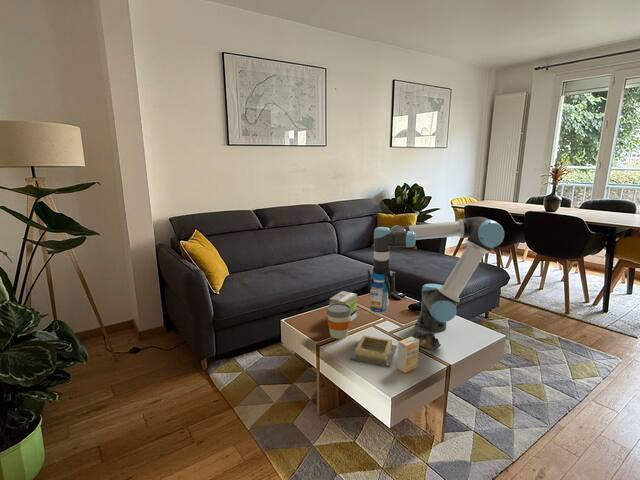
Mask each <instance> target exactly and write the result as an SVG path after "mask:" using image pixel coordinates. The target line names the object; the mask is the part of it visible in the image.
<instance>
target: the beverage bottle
mask: <svg viewBox="0 0 640 480" xmlns="http://www.w3.org/2000/svg"><path fill="white" fill-rule="evenodd" d="M387 276H388V275H387ZM387 276H386V277H387ZM369 291H370V305H369V306H370V307H369V311H370V312H372V313H373V314H374V313H375V314H385V313H386V312H387V306H386V297H387V292H388V290H387V287H386V283H385V275H384V274H375V273H374V272H373V273H372V280H371V290H369Z"/></svg>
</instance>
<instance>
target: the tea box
mask: <svg viewBox="0 0 640 480" xmlns="http://www.w3.org/2000/svg"><path fill="white" fill-rule="evenodd" d="M334 303H344V304H347V305H349V306H350V307H351V315H350V317H351V321H350V323H351V322H353V321H354V320H355V319H356V318H357V313H358V312H357V311H358V309H357V306H358V305H357V304H358V294H357V293H353V292H350V291H344V290H342V291H340V292H339V293H337V294H335V295H333V296H332V297H330V298H329V305H330V304H334Z"/></svg>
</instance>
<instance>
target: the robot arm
mask: <svg viewBox="0 0 640 480" xmlns="http://www.w3.org/2000/svg"><path fill="white" fill-rule="evenodd" d="M373 231H374V232H373V268H372V269H370V268H369V269H368V270H367V275H368V276H367V277H368V278H367V290H368V291H370V290H371V283H372V281H373V272H374V273H375V274H384V275H385V283H386V287H387V290H388V292H387V297H386V306H389V304H390V300H391V299H392V293H395V291H396V280H395V275H396V273H397V272H396V271H392V270H391V268H390V250H391V249H390V248H412V247H413V248H414V247H415V245H416V241H418V240H427V239H439V238H441V239H442V238H451V237H459V238H461V239H464V238H465V239H466V238H467V239H466V241H467V246H466V247H465V250H463V252H462V254H461V256H460V257H459V259H458V261H457V262H456V264H455V266H454V267H453V268H452V271H451V272H450V274H449V275H448V277H447V279H446V280H445V282H444V284H438V283H426V284H424V285H423V286H422V289H421V304H420V305H421V306H420V307H421V309H420V313H419V315H418V317H417V321H416V324H417V327H419V328H420V329H421V330H424V331H427V332H431V333H434V332H435V333H436V332H437V333H439V332H443V331H445V330H447V322H450V321H452V320H453V319H454V318H455V317H456V315H457V306H458V304H459V303H460V297H459V296H460V295H461V293H462V292H463V290H464V288H465V286H466V285H467V283H468V282H469V281H470V278H471V277H472V275H473V274H474V272H475V271H476V269H477V267H479V265H480V263H481V262H482V260H483V258H484V256H485V255H486V254H490V253H491V252H492V250H493V249H494V248H496V247H498V246H500V245H501V243H503V241H504V238H505V230H504V228H503V226H502V225H501V224H500V223H498V222H497V221H495V220H493V219H489V218H486V217H483V216H475V217H467V218H459V219H457V220H456V221H447V222H446V221H445V222H437V223H436V222H435V223H425V224H424V223H423V224H414V225H412V224H411V225H403V226H401V225H397V224H395V225H394V226H392V227H391V229H390V227H388V226H386V227H385V226H379V227H375V228H374V230H373ZM389 274H390V277H391V279H390V280H391V283H390V281H389ZM386 276H387V277H386Z"/></svg>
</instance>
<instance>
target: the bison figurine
mask: <svg viewBox="0 0 640 480" xmlns="http://www.w3.org/2000/svg"><path fill="white" fill-rule="evenodd" d="M411 337H414V338H416V339H418V340H419V347H422V348H425V349H428V350H434V349H439V348H440V347H441V346H442V344H441V343H440V342H439V339H438V337H436V335H435V334H434V332H432V331H428V332H422V331H421V330H416V331H415V332H414V333H413V334H412V335H411Z"/></svg>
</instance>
